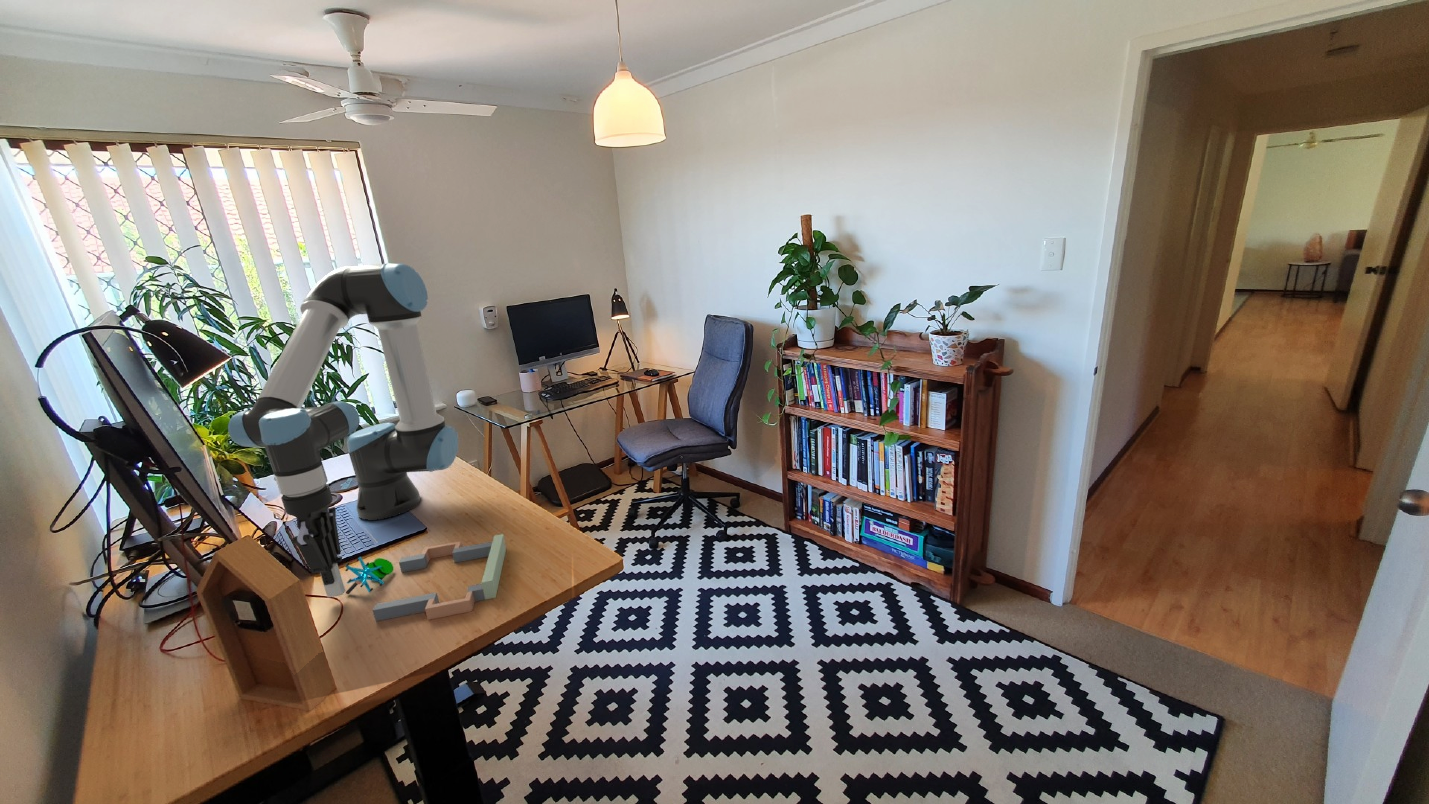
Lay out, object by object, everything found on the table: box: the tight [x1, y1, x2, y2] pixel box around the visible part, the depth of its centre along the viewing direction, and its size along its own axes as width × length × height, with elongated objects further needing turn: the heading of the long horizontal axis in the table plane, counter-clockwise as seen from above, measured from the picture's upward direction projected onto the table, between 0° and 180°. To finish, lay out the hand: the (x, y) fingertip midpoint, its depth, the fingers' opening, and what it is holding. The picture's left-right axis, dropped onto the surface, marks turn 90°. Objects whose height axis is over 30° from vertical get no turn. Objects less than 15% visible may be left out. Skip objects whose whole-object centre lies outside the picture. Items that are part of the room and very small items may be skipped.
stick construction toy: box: [344, 556, 394, 595], centre depth 115 cm, size 12×7×8 cm
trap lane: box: [372, 533, 507, 622], centre depth 115 cm, size 25×22×4 cm
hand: (336, 594), depth 111 cm, fingers closed
